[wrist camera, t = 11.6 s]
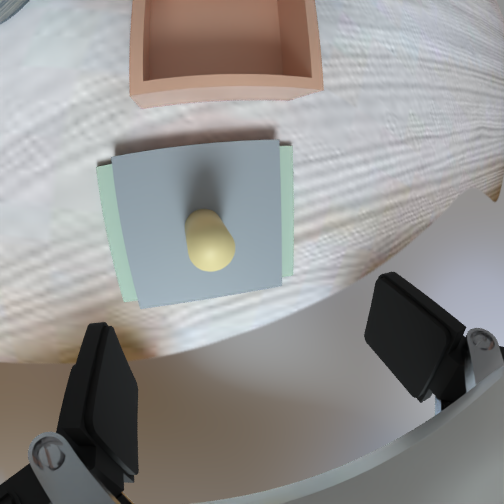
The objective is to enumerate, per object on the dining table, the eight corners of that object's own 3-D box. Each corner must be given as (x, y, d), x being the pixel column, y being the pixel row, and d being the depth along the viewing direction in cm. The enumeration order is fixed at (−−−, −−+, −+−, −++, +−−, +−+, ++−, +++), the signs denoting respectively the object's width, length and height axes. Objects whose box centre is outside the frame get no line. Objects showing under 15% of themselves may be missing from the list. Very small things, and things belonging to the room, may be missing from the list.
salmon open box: (279, -11, 16) (307, -41, 11) (288, 100, 21) (323, 90, 16) (144, -12, 14) (139, -48, 8) (141, 108, 18) (129, 96, 13)
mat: (290, 145, 23) (292, 145, 22) (291, 273, 27) (293, 275, 27) (97, 166, 19) (96, 167, 19) (124, 299, 24) (124, 302, 23)
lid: (275, 139, 22) (307, 139, 17) (278, 281, 27) (304, 315, 22) (113, 156, 19) (92, 160, 14) (141, 304, 24) (136, 345, 19)
